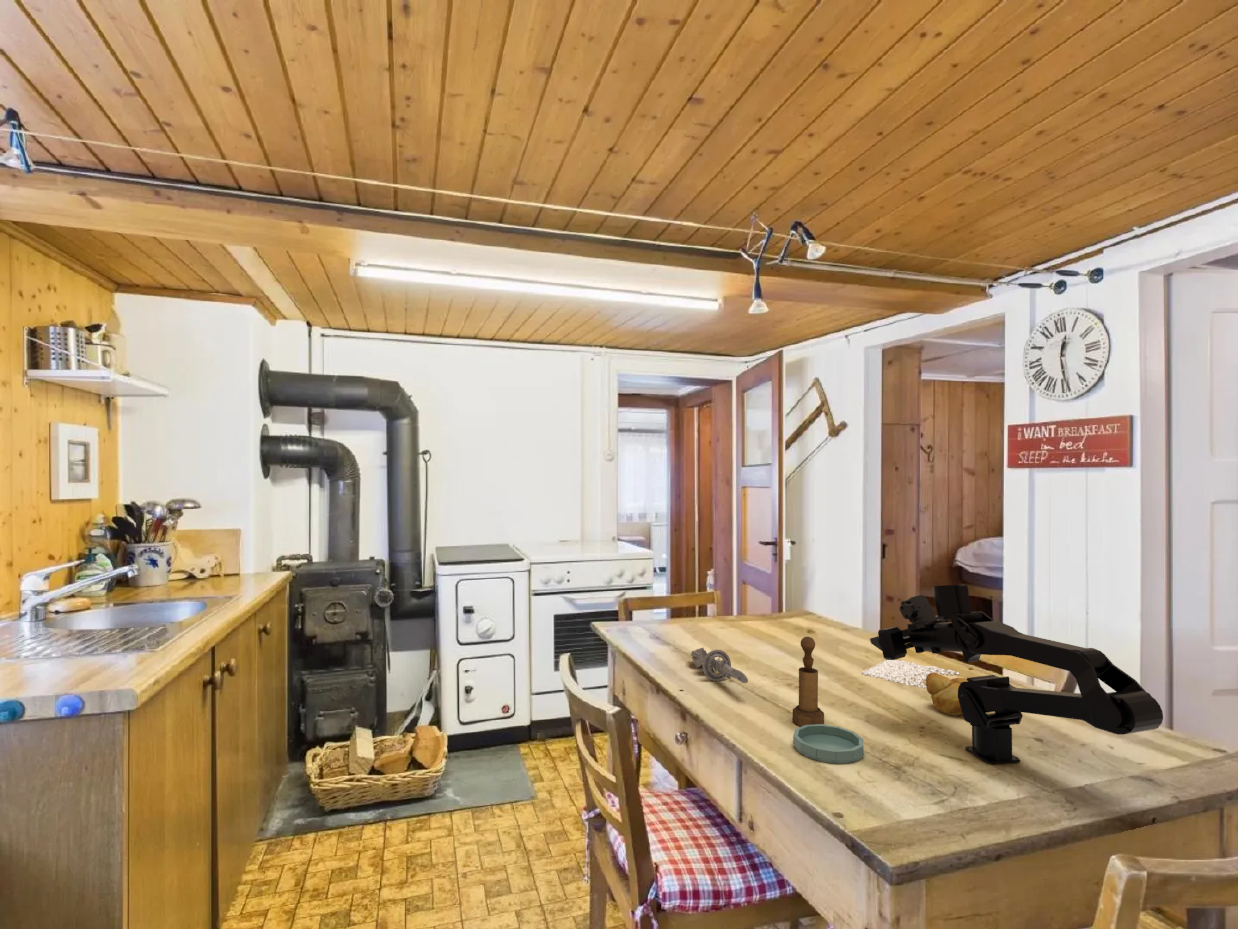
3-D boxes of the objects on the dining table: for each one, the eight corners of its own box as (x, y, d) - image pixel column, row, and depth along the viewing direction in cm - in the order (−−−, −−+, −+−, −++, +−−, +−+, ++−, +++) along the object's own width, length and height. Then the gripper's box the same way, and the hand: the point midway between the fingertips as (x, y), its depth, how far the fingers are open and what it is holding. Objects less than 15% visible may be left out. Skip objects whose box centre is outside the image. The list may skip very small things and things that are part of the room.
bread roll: (972, 702, 144) (971, 668, 145) (1003, 718, 135) (1002, 681, 135) (921, 704, 143) (920, 669, 143) (948, 720, 133) (947, 683, 134)
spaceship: (726, 671, 142) (754, 655, 144) (675, 647, 175) (699, 635, 178) (739, 703, 142) (768, 687, 144) (686, 673, 175) (709, 661, 177)
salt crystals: (888, 662, 179) (888, 656, 179) (963, 677, 165) (963, 671, 165) (858, 676, 165) (858, 670, 165) (937, 694, 151) (937, 688, 151)
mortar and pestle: (826, 729, 128) (825, 642, 128) (793, 727, 129) (793, 640, 130) (822, 718, 134) (821, 634, 135) (791, 715, 136) (790, 632, 136)
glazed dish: (877, 761, 113) (876, 749, 113) (811, 765, 111) (811, 753, 112) (842, 734, 126) (842, 723, 126) (783, 737, 124) (783, 726, 124)
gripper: (964, 590, 131) (905, 594, 145) (902, 604, 124) (846, 607, 137) (979, 643, 129) (918, 643, 143) (916, 662, 121) (858, 659, 135)
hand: (885, 637), depth 140 cm, fingers open, 9 cm apart
